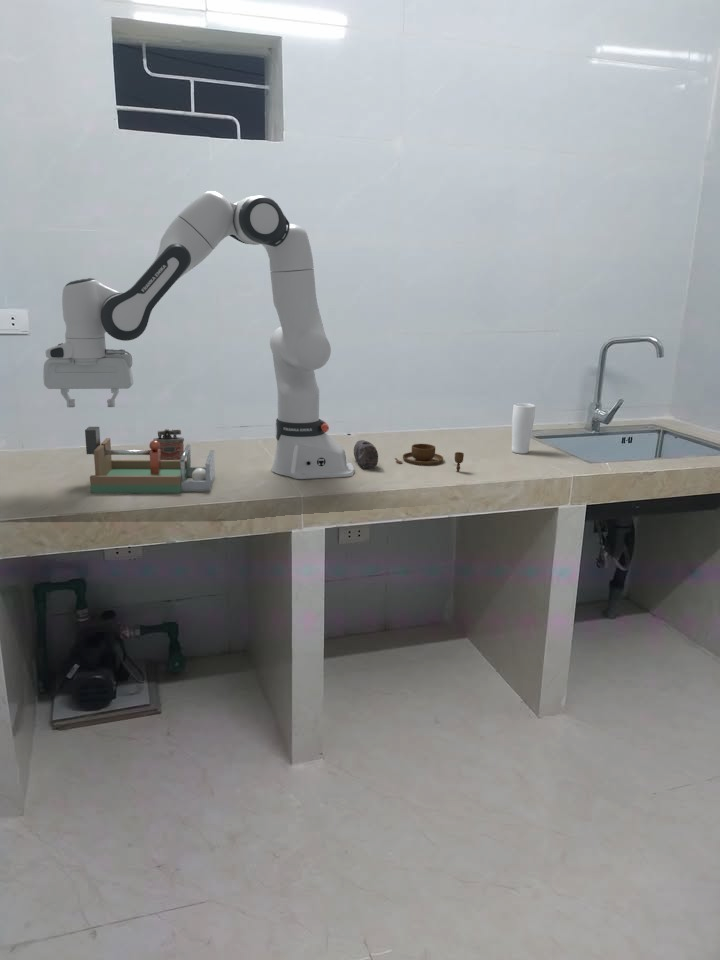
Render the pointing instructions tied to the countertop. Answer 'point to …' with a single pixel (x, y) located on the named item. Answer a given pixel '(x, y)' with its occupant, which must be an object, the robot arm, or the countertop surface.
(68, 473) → the countertop surface
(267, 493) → the countertop surface
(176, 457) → the lighter
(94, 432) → the rod
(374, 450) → the perforated stone tool
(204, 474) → the ball
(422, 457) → the place setting
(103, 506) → the countertop surface
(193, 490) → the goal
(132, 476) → the pitch
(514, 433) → the drinking glass
